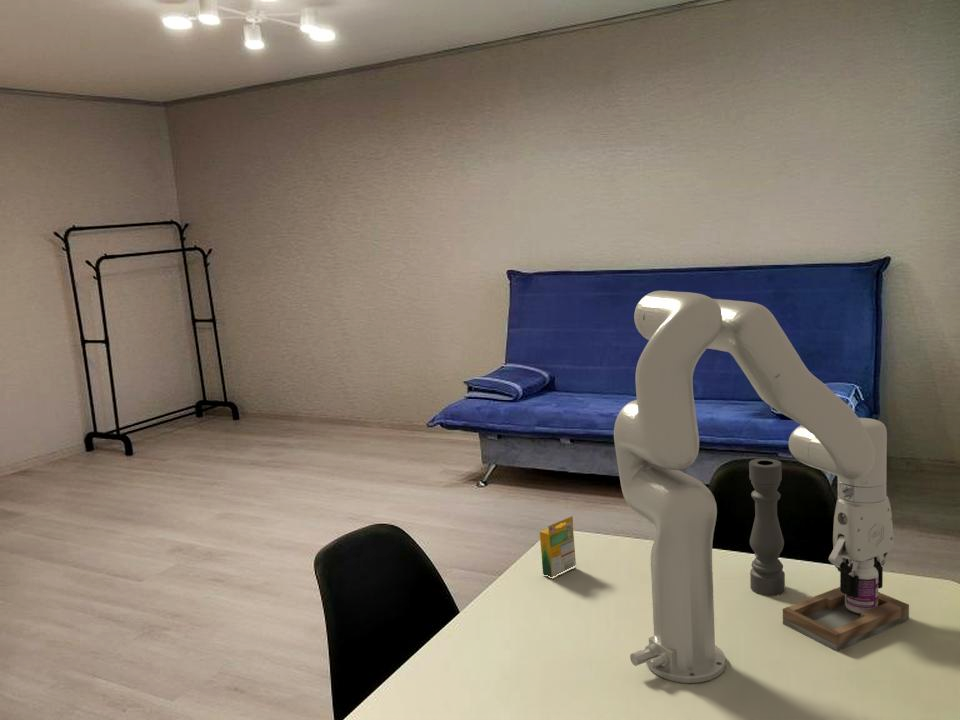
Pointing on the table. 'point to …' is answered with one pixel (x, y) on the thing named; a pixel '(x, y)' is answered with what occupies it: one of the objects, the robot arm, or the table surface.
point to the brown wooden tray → (842, 618)
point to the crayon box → (558, 547)
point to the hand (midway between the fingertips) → (861, 589)
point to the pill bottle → (864, 588)
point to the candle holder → (766, 528)
